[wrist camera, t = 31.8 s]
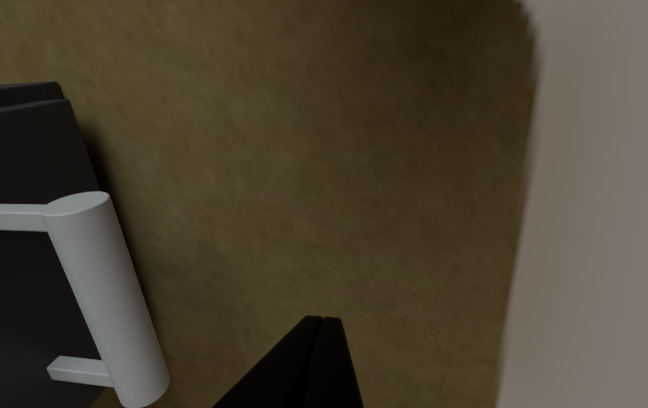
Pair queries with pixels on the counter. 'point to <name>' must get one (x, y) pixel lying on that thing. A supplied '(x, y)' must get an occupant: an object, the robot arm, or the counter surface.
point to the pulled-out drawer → (66, 274)
